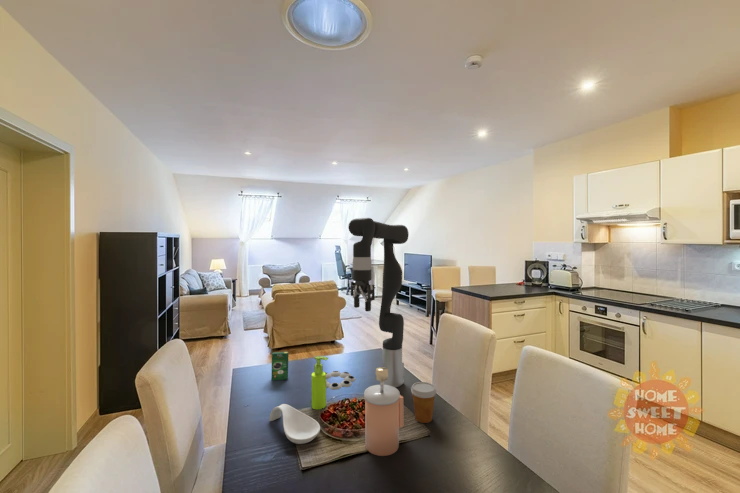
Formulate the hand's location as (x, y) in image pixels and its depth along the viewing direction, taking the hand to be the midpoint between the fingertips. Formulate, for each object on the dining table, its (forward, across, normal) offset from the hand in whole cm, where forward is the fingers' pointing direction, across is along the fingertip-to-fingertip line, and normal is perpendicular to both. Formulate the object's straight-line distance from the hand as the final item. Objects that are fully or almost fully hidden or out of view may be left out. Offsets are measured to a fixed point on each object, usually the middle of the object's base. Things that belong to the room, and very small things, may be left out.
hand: (362, 309), depth 124 cm
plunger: (+23, -22, +6) cm, 32 cm away
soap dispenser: (+40, +12, +13) cm, 44 cm away
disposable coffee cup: (+40, -18, -16) cm, 47 cm away
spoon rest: (+41, +1, +28) cm, 50 cm away
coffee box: (+40, +46, +19) cm, 64 cm away
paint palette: (+41, +30, -3) cm, 51 cm away
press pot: (+40, -22, +5) cm, 46 cm away
